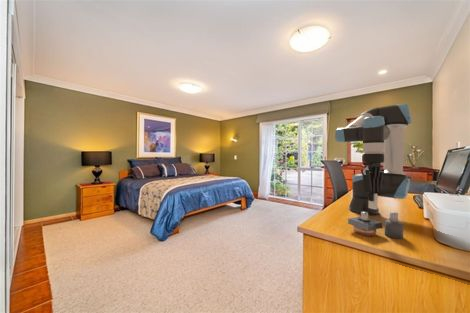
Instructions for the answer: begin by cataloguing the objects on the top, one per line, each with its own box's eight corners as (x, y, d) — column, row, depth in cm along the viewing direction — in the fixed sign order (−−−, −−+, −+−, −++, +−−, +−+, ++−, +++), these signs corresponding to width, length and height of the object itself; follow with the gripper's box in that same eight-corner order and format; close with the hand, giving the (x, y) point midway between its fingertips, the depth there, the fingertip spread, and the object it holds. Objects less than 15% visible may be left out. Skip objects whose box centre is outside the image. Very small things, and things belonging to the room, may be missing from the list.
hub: (361, 227, 91) (361, 208, 91) (380, 234, 83) (380, 213, 83) (349, 230, 88) (349, 210, 88) (367, 237, 80) (367, 216, 80)
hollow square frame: (361, 221, 91) (361, 216, 91) (382, 227, 83) (382, 222, 83) (348, 223, 88) (348, 218, 88) (367, 230, 79) (367, 225, 79)
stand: (390, 232, 85) (390, 209, 85) (406, 237, 80) (406, 213, 80) (381, 234, 83) (381, 211, 83) (397, 239, 78) (397, 215, 78)
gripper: (372, 153, 88) (372, 204, 88) (354, 153, 82) (354, 208, 82) (391, 153, 81) (391, 208, 81) (373, 153, 75) (373, 212, 76)
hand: (372, 208), depth 82 cm, fingers closed
